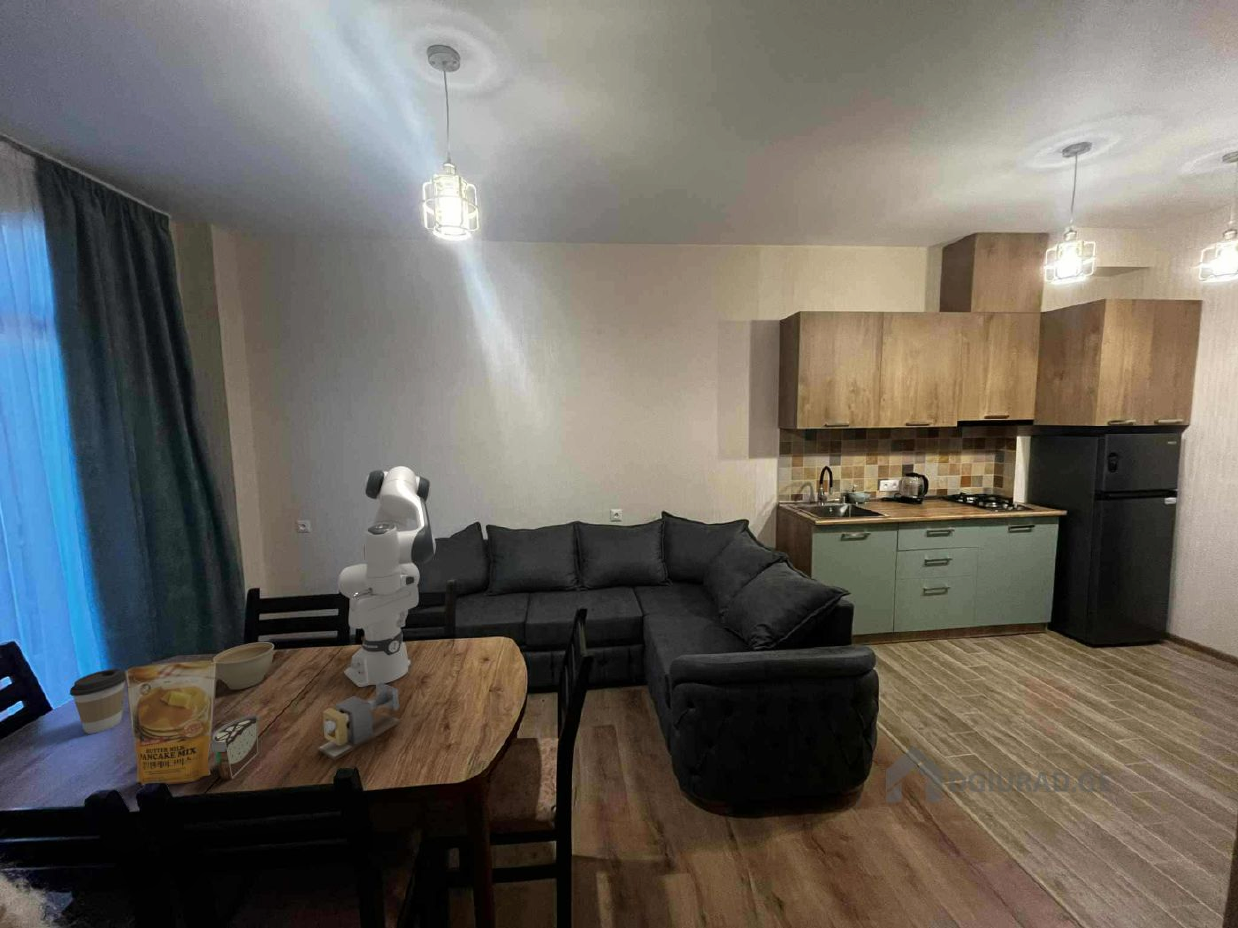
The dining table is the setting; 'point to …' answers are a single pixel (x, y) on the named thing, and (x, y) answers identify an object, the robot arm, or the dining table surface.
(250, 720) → the food container
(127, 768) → the dining table surface
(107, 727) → the coffee cup
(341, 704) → the block
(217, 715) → the dining table surface
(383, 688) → the shaft
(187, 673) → the pancake mix bag
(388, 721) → the rig base
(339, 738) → the spacer
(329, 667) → the dining table surface
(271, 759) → the dining table surface
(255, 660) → the planter bowl
